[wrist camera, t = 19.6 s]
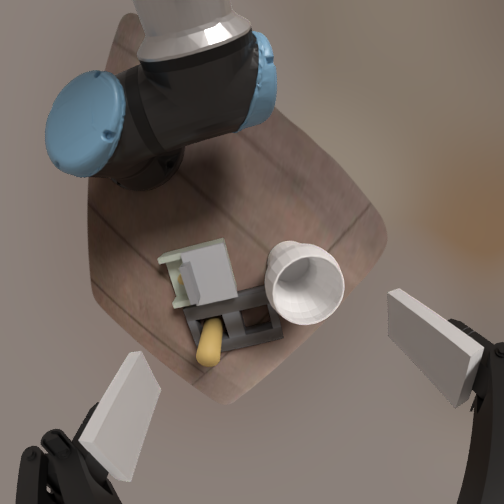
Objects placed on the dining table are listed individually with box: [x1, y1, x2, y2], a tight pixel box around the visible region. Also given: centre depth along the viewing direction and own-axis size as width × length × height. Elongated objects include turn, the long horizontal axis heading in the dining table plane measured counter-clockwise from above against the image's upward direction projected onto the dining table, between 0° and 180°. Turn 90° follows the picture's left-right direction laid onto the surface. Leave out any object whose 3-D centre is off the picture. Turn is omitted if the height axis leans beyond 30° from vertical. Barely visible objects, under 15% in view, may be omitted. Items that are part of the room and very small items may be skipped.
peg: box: [196, 315, 224, 367], centre depth 44 cm, size 4×4×12 cm
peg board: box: [183, 285, 284, 352], centre depth 48 cm, size 10×16×3 cm, turn 103°
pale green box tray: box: [158, 238, 237, 309], centre depth 45 cm, size 9×11×4 cm
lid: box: [179, 242, 238, 306], centre depth 41 cm, size 9×7×4 cm
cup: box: [264, 241, 344, 325], centre depth 41 cm, size 11×11×15 cm
